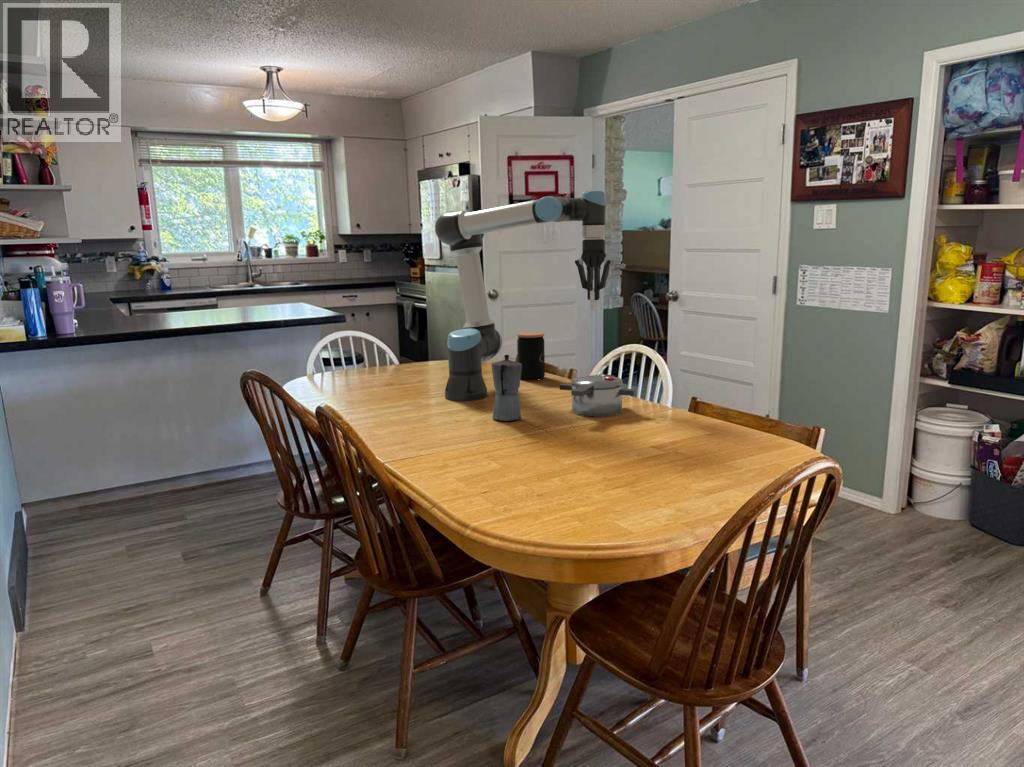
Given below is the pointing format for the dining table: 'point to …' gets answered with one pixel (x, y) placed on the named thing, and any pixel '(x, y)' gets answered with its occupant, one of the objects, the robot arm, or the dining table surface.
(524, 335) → the coffee jar
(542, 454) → the dining table surface
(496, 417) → the moka pot
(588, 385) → the lid
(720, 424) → the dining table surface
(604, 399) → the pot
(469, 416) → the dining table surface
